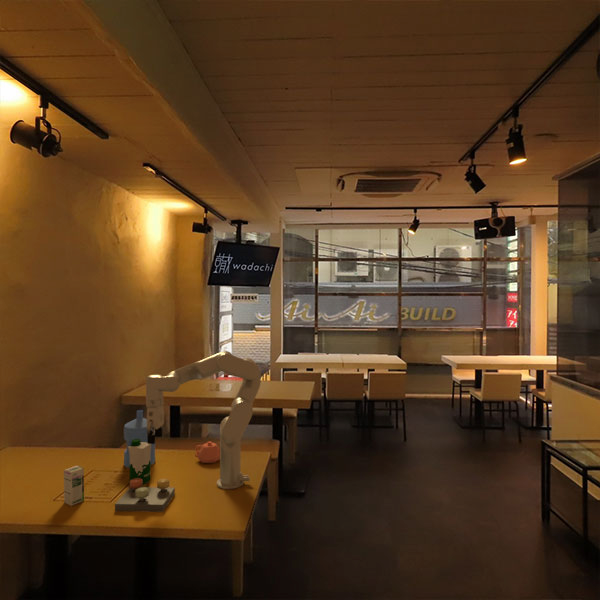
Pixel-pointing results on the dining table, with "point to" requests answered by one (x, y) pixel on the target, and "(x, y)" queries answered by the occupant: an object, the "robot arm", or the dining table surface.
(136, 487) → the red rounded lump
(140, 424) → the water jug
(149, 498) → the plate
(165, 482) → the tan rounded piece
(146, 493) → the pale green ball
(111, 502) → the dining table surface
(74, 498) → the syrup box
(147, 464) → the milk carton
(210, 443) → the sugar bowl
